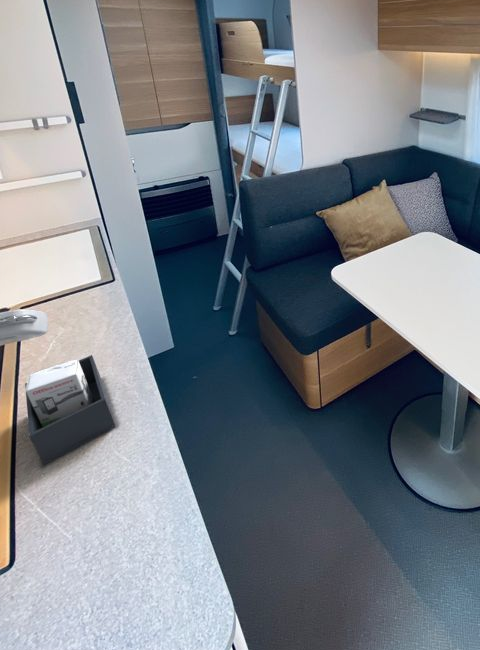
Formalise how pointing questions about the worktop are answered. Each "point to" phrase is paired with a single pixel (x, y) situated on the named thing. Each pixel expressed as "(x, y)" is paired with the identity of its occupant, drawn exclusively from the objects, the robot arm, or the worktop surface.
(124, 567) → the worktop surface
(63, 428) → the bin
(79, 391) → the ink box
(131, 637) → the worktop surface
